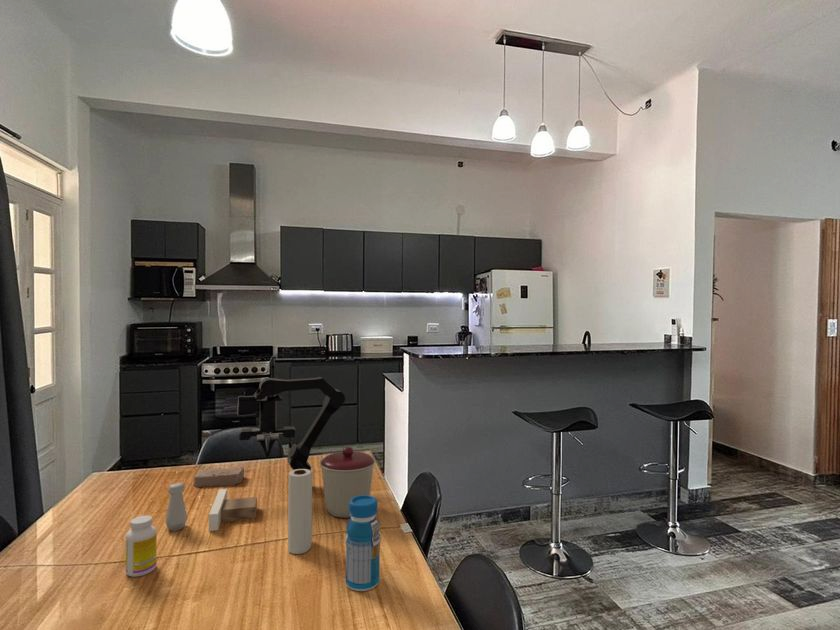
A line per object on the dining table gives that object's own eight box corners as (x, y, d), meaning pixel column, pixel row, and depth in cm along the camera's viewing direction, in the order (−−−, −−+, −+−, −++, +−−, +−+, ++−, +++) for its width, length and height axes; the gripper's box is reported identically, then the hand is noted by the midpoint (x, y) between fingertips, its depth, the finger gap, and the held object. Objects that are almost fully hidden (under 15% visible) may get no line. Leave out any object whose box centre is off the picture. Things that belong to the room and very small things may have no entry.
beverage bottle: (350, 596, 106) (350, 509, 106) (341, 577, 114) (341, 496, 114) (384, 588, 110) (385, 504, 110) (373, 569, 118) (374, 491, 117)
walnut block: (256, 508, 154) (257, 496, 154) (255, 519, 146) (255, 506, 146) (224, 512, 151) (224, 499, 151) (220, 523, 143) (221, 510, 143)
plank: (227, 503, 157) (227, 488, 157) (217, 530, 138) (218, 513, 138) (219, 504, 156) (219, 489, 156) (208, 531, 137) (208, 514, 137)
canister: (316, 503, 158) (317, 441, 158) (368, 497, 163) (369, 437, 163) (322, 527, 140) (322, 457, 140) (380, 519, 146) (381, 452, 146)
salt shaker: (191, 525, 141) (191, 482, 141) (174, 533, 135) (174, 489, 135) (178, 521, 143) (178, 479, 143) (161, 529, 138) (161, 486, 138)
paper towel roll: (290, 557, 123) (291, 476, 123) (285, 546, 129) (286, 469, 128) (317, 550, 127) (317, 472, 126) (311, 541, 132) (312, 466, 132)
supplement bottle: (162, 566, 118) (162, 516, 118) (139, 580, 112) (139, 527, 112) (143, 561, 120) (143, 512, 120) (119, 574, 114) (119, 522, 114)
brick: (192, 487, 171) (193, 475, 171) (199, 479, 179) (200, 467, 179) (239, 486, 174) (239, 473, 174) (244, 478, 182) (244, 466, 182)
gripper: (294, 407, 176) (294, 448, 176) (242, 410, 171) (242, 452, 171) (295, 414, 165) (294, 457, 166) (239, 416, 160) (238, 461, 161)
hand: (267, 457), depth 166 cm, fingers closed
